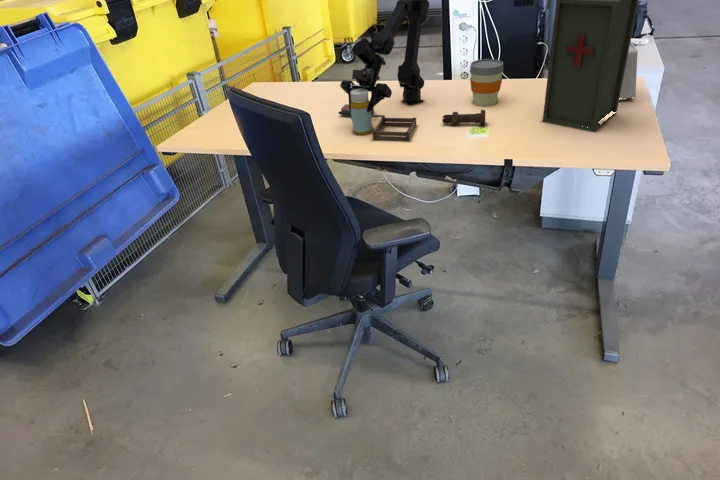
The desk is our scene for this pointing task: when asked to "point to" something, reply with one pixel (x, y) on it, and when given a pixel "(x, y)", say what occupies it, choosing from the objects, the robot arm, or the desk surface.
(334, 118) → the desk surface
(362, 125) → the bottle
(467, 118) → the bolt
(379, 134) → the crate
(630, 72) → the electrical switch box
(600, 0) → the first aid box
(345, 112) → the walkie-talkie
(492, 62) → the reusable coffee cup
